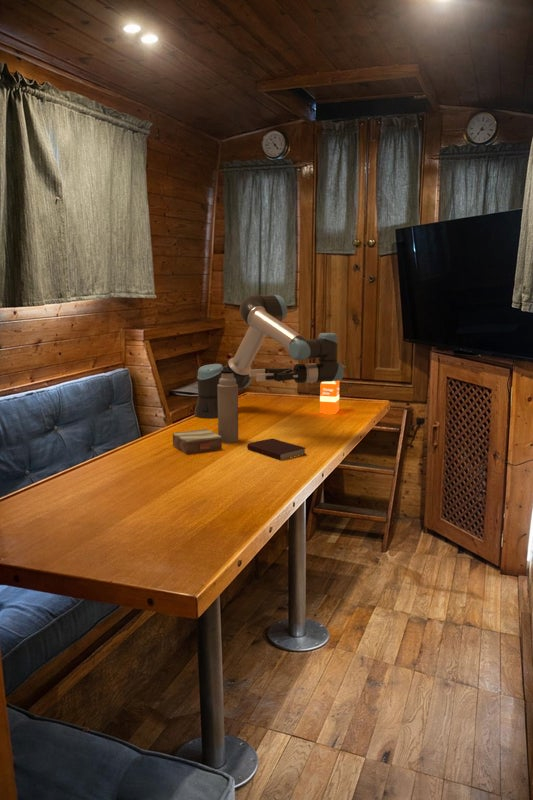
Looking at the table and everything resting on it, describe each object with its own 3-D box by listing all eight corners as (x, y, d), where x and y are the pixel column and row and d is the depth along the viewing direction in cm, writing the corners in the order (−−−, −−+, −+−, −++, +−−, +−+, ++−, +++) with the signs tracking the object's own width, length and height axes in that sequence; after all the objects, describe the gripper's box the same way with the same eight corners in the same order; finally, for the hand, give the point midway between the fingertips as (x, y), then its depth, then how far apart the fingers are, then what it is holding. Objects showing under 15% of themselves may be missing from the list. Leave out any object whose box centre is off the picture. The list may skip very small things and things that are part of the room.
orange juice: (319, 413, 308) (320, 371, 304) (323, 410, 316) (324, 369, 312) (335, 414, 305) (336, 372, 302) (339, 411, 314) (340, 370, 310)
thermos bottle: (239, 438, 261) (238, 368, 256) (237, 443, 253) (237, 371, 248) (219, 438, 261) (218, 368, 256) (217, 443, 253) (216, 371, 248)
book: (279, 462, 229) (279, 453, 228) (246, 450, 244) (246, 442, 243) (306, 456, 237) (306, 447, 236) (272, 445, 251) (273, 437, 251)
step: (173, 445, 249) (172, 433, 248) (206, 441, 256) (206, 428, 255) (187, 454, 236) (187, 441, 236) (222, 449, 243) (222, 436, 242)
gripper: (314, 387, 248) (260, 389, 243) (296, 378, 272) (246, 380, 267) (314, 367, 247) (260, 369, 242) (296, 360, 270) (246, 362, 265)
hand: (252, 375), depth 254 cm, fingers open, 13 cm apart
